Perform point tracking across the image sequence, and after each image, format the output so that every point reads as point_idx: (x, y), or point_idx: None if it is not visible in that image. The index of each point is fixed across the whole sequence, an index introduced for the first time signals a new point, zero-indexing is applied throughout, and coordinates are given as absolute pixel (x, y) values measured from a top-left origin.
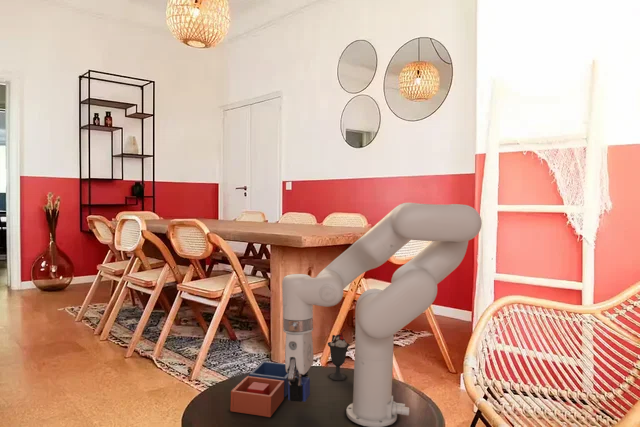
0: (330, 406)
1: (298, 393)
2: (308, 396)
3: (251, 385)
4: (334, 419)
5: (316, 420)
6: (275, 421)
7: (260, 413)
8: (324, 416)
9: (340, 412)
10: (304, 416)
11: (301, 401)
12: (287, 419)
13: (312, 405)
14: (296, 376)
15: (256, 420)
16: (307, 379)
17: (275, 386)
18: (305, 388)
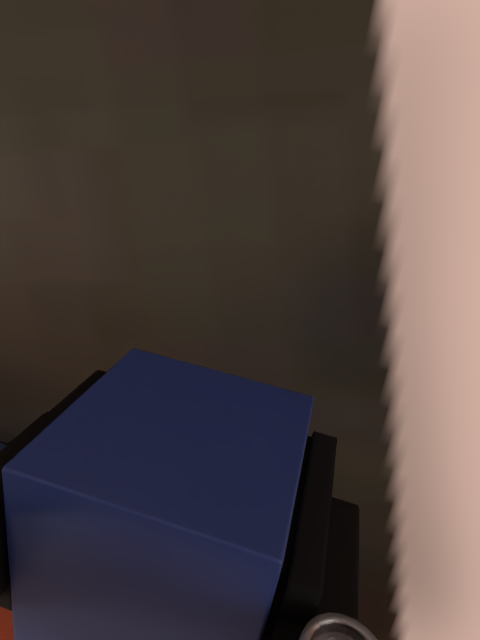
0: (97, 123)
1: (351, 546)
2: (189, 364)
3: None
4: (341, 63)
5: (369, 238)
6: (397, 530)
7: None
8: (288, 168)
9: (191, 10)
10: (303, 337)
11: (334, 441)
12: (362, 456)
13: (112, 277)
14: (19, 617)
15: (386, 629)
16: (87, 506)
17: None
18: (279, 494)
